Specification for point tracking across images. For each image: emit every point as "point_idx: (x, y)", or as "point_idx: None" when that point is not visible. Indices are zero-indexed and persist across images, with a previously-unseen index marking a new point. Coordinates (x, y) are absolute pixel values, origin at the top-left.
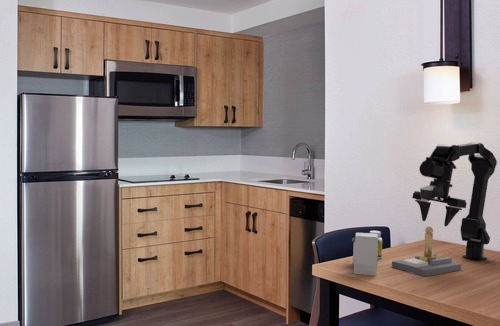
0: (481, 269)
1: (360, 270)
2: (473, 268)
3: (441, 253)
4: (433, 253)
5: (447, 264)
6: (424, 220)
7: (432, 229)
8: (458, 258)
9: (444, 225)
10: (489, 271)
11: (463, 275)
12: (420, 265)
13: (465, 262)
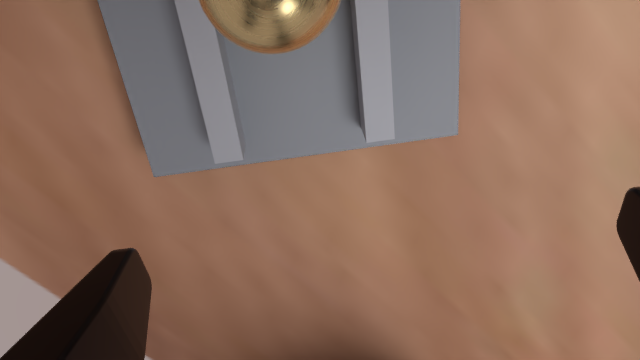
0: None
1: None
2: (178, 256)
3: (539, 336)
4: (394, 138)
5: (163, 63)
6: (626, 219)
7: (205, 10)
8: (407, 340)
9: (126, 250)
10: None
11: (9, 53)
12: None
13: (317, 312)
